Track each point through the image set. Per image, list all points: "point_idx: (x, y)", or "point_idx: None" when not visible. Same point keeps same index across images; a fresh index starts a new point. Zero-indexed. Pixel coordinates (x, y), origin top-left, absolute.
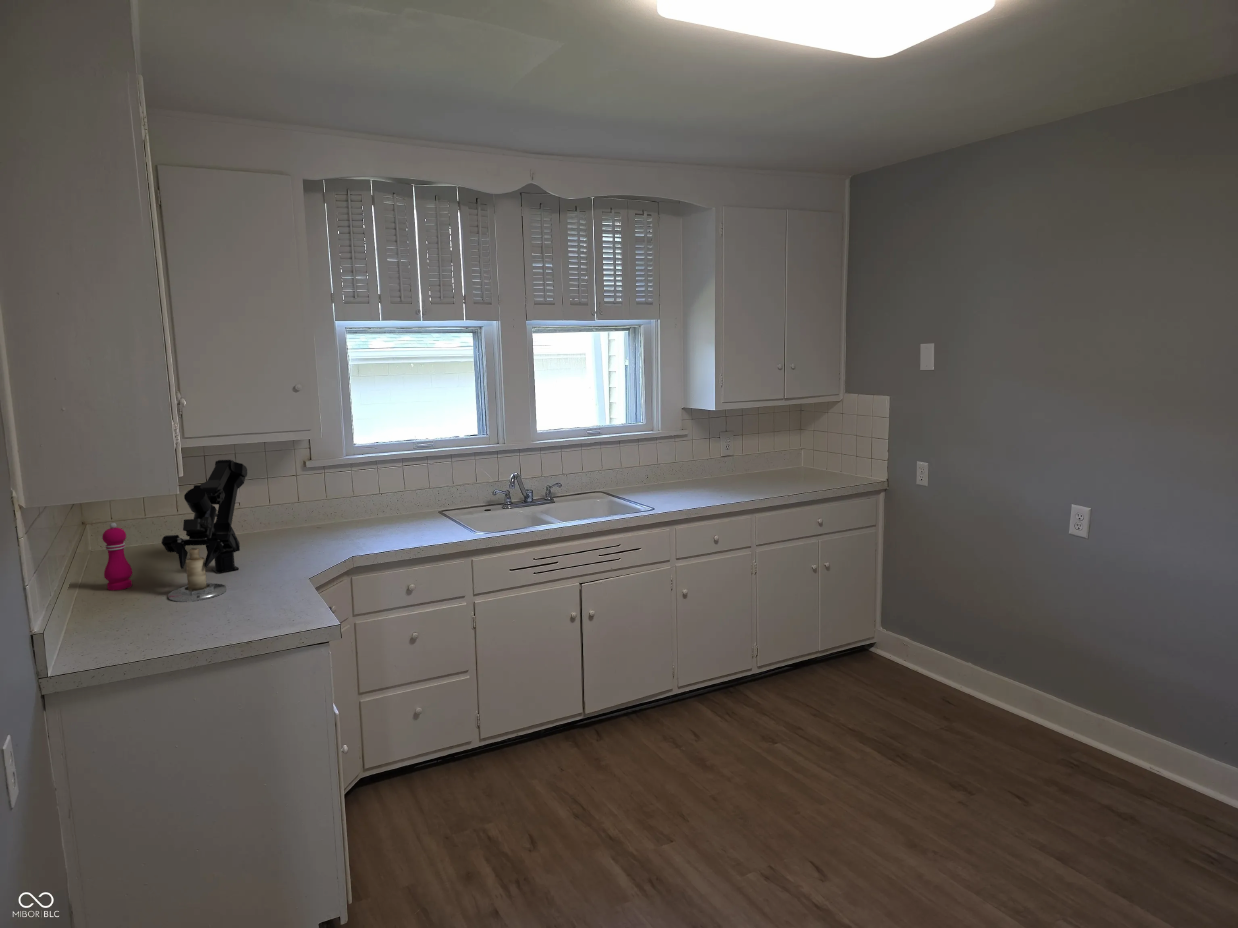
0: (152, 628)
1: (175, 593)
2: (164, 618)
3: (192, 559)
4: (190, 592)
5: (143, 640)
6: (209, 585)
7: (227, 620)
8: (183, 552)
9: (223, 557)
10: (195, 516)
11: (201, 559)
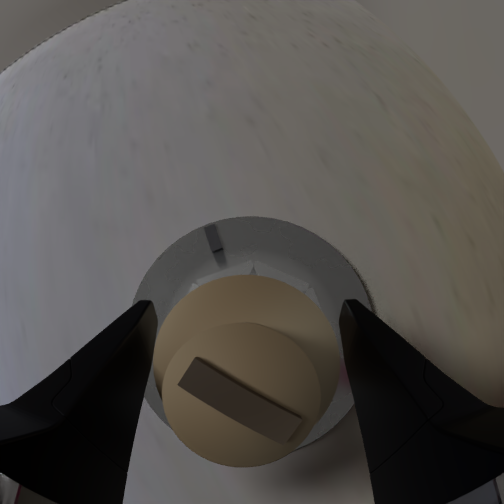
0: (261, 34)
1: None
2: (263, 76)
3: (256, 323)
4: (256, 261)
5: (248, 3)
6: None
7: (102, 66)
8: (408, 434)
9: None
10: None
11: (169, 345)
